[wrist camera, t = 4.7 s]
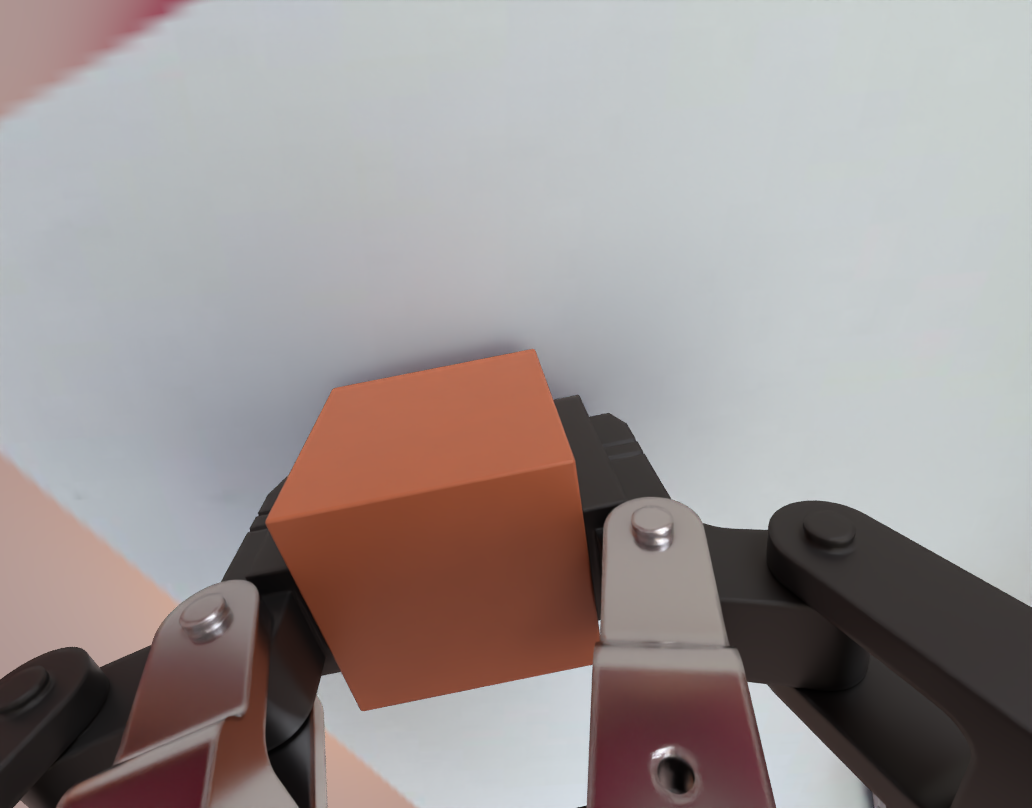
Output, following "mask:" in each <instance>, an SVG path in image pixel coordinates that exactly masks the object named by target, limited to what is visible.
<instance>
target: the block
mask: <svg viewBox="0 0 1032 808" xmlns="http://www.w3.org/2000/svg"><path fill="white" fill-rule="evenodd" d="M265 523H266V526H267V528H268V530H269V532H270V534H271V536H272V538H273V540H274V542H275V544H276V546H277V548H278V550H279V551H280V553H281V555H282V557H283V559H284V561H285V563H286V565H287V567H288V569H289V571H290V573H291V575H292V577H293V579H294V581H295V583H296V585H297V587H298V589H299V591H300V593H301V594H302V596H303V598H304V600H305V602H306V604H307V606H308V608H309V610H310V612H311V614H312V616H313V618H314V620H315V622H316V624H317V626H318V628H319V630H320V632H321V634H322V636H323V637H324V639H325V641H326V643H327V645H328V647H329V649H330V651H331V653H332V655H333V657H334V659H335V661H336V663H337V665H338V667H339V669H340V671H341V673H342V675H343V677H344V679H345V681H346V682H347V684H348V686H349V688H350V690H351V692H352V694H353V696H354V698H355V700H356V702H357V704H358V706H359V708H360V710H361V711H367V710H372V709H377V708H382V707H386V706H391V705H396V704H401V703H406V702H411V701H416V700H421V699H426V698H431V697H436V696H441V695H446V694H450V693H455V692H460V691H465V690H470V689H475V688H480V687H485V686H490V685H495V684H500V683H505V682H509V681H514V680H519V679H524V678H529V677H534V676H539V675H544V674H549V673H554V672H559V671H564V670H569V669H573V668H578V667H583V666H588V665H593V653H594V646H595V642H600V632H599V624H598V617H597V610H596V603H595V596H594V589H593V582H592V575H591V568H590V561H589V554H588V547H587V540H586V533H585V526H584V519H583V512H582V505H581V498H580V490H579V483H578V476H577V469H576V462H575V459H574V456H573V453H572V450H571V448H570V445H569V442H568V439H567V437H566V434H565V431H564V428H563V426H562V423H561V420H560V417H559V415H558V412H557V409H556V406H555V404H554V401H553V398H552V395H551V393H550V390H549V387H548V384H547V382H546V379H545V376H544V373H543V371H542V368H541V365H540V362H539V359H538V357H537V354H536V351H535V350H534V349H530V350H525V351H520V352H515V353H510V354H504V355H499V356H494V357H489V358H484V359H479V360H474V361H469V362H464V363H459V364H454V365H449V366H444V367H439V368H434V369H429V370H424V371H418V372H413V373H408V374H403V375H398V376H393V377H388V378H383V379H378V380H373V381H368V382H363V383H358V384H353V385H348V386H343V387H338V388H334V389H332V391H331V393H330V395H329V397H328V399H327V401H326V403H325V405H324V407H323V409H322V411H321V413H320V415H319V417H318V419H317V421H316V423H315V425H314V426H313V428H312V430H311V432H310V434H309V436H308V438H307V440H306V442H305V444H304V446H303V448H302V450H301V452H300V454H299V456H298V458H297V460H296V462H295V464H294V466H293V468H292V470H291V472H290V474H289V475H288V477H287V479H286V481H285V483H284V485H283V487H282V489H281V491H280V493H279V495H278V497H277V499H276V501H275V503H274V505H273V507H272V509H271V511H270V513H269V515H268V517H267V519H266V522H265Z"/></svg>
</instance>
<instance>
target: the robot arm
mask: <svg viewBox="0 0 1032 808" xmlns="http://www.w3.org/2000/svg"><path fill="white" fill-rule="evenodd" d="M553 401H554V404H555V406H556V409H557V412H558V415H559V417H560V420H561V423H562V426H563V428H564V431H565V434H566V437H567V439H568V442H569V445H570V448H571V450H572V453H573V456H574V459H575V462H576V469H577V476H578V483H579V490H580V498H581V505H582V512H583V519H584V526H585V533H586V540H587V547H588V554H589V561H590V568H591V575H592V582H593V589H594V596H595V603H596V610H597V617H598V620H601V626H600V642H595V646H594V653H593V669H592V693H591V717H590V741H589V766H588V790H587V806H583V807H578V808H776V805H775V801H774V796H773V792H772V788H771V783H770V779H769V775H768V770H767V766H766V762H765V757H764V753H763V749H762V744H761V740H760V736H759V731H758V727H757V723H756V718H755V714H754V710H753V705H752V701H751V697H750V692H749V688H748V684H747V682H754V683H762V684H767V685H768V686H769V687H770V688H771V690H772V691H773V692H774V693H775V694H776V695H777V696H778V697H779V698H780V699H781V700H782V701H783V702H784V703H785V704H786V705H787V706H788V707H789V708H790V709H791V710H792V711H793V712H794V713H795V714H796V715H797V716H798V717H799V718H800V719H801V720H802V721H803V722H804V723H805V724H806V725H807V726H808V727H809V729H810V730H811V731H812V732H813V733H814V734H815V735H816V736H817V737H818V738H819V739H820V740H821V741H822V742H823V743H824V744H825V745H826V746H827V747H828V748H829V749H830V750H831V751H832V752H833V753H834V754H835V755H836V756H837V757H838V758H839V759H840V760H841V761H842V762H843V763H844V764H845V765H846V766H847V767H848V768H849V769H850V770H851V771H852V772H853V773H854V774H855V775H856V776H857V777H858V778H859V779H860V780H861V781H862V782H863V783H864V784H865V785H866V786H867V787H868V788H869V789H870V790H871V791H872V792H873V793H874V794H875V795H876V796H877V797H878V798H879V799H880V800H881V801H882V802H883V803H884V804H885V806H886V807H887V808H1032V607H1030V606H1028V605H1026V604H1024V603H1023V602H1021V601H1019V600H1017V599H1016V598H1014V597H1012V596H1010V595H1008V594H1007V593H1005V592H1003V591H1001V590H999V589H998V588H996V587H994V586H992V585H991V584H989V583H987V582H985V581H983V580H982V579H980V578H978V577H976V576H975V575H973V574H971V573H969V572H967V571H966V570H964V569H962V568H960V567H958V566H957V565H955V564H953V563H951V562H950V561H948V560H946V559H944V558H942V557H941V556H939V555H937V554H935V553H934V552H932V551H930V550H928V549H926V548H925V547H923V546H921V545H919V544H917V543H916V542H914V541H912V540H910V539H909V538H907V537H905V536H903V535H901V534H900V533H898V532H896V531H894V530H893V529H891V528H889V527H887V526H885V525H884V524H882V523H880V522H878V521H876V520H875V519H873V518H871V517H869V516H868V515H866V514H864V513H862V512H860V511H858V510H855V509H853V508H850V507H848V506H844V505H841V504H837V503H832V502H826V501H801V502H796V503H792V504H789V505H786V506H784V507H782V508H780V509H779V510H777V511H776V512H775V513H774V514H773V515H772V517H771V519H770V521H769V526H768V530H752V529H730V528H721V527H715V526H711V525H707V524H704V523H702V521H701V519H700V518H699V516H698V515H697V514H696V513H695V512H694V511H693V510H692V509H690V508H689V507H688V506H686V505H684V504H682V503H680V502H677V501H675V500H671V498H670V496H669V494H668V493H667V491H666V489H665V488H664V486H663V484H662V483H661V481H660V479H659V478H658V476H657V474H656V472H655V471H654V469H653V467H652V466H651V464H650V462H649V461H648V459H647V457H646V456H645V454H643V450H642V449H641V447H640V445H639V444H638V442H637V441H636V440H635V437H634V435H633V434H632V432H631V430H630V428H629V427H628V425H627V423H625V422H623V421H621V420H620V419H618V418H616V417H615V416H613V415H611V414H610V413H607V414H601V415H596V416H591V417H589V415H588V413H587V411H586V409H585V407H584V405H583V403H582V400H581V398H580V396H579V395H575V396H570V397H565V398H560V399H555V400H553ZM286 479H287V477H286V478H285V479H284V480H283V481H282V482H281V483H280V484H279V485H278V486H277V487H275V488H274V489H273V490H272V491H271V492H270V493H269V494H268V496H267V497H266V499H265V501H264V503H263V505H262V507H261V509H260V510H259V512H258V514H259V516H257V517H256V518H255V520H254V521H253V523H252V525H251V527H250V532H248V533H247V534H246V536H245V538H244V540H243V542H242V544H241V546H240V547H239V549H238V551H237V553H236V555H235V557H234V559H233V560H232V562H231V564H230V566H229V568H228V570H227V572H226V573H225V575H224V577H223V579H222V581H221V582H220V583H217V584H214V585H211V586H209V587H207V588H205V589H203V590H201V591H199V592H197V593H195V594H194V595H192V596H191V597H189V598H188V599H186V600H185V601H184V602H182V603H181V604H180V605H178V606H177V607H176V608H175V609H174V610H173V611H172V612H171V613H170V614H169V615H168V616H167V617H166V618H165V620H164V621H163V622H162V624H161V625H160V626H159V628H158V630H157V632H156V634H155V636H154V639H153V642H152V645H150V646H148V647H146V648H143V649H141V650H139V651H136V652H134V653H132V654H130V655H127V656H125V657H123V658H120V659H118V660H116V661H114V662H111V663H109V664H106V665H104V666H102V667H100V668H99V666H98V665H97V664H96V663H95V662H94V660H93V659H92V658H91V657H90V656H89V655H88V653H87V652H86V651H85V650H83V649H81V648H78V647H66V648H61V649H57V650H53V651H50V652H48V653H45V654H43V655H40V656H38V657H36V658H34V659H32V660H30V661H28V662H26V663H25V664H23V665H21V666H20V667H18V668H16V669H15V670H13V671H12V672H10V673H9V674H7V675H6V676H4V677H3V678H2V679H0V808H13V807H14V806H15V805H16V804H17V803H18V802H19V801H20V800H21V801H22V802H23V803H24V804H26V805H27V806H28V807H29V808H327V785H326V784H327V782H326V758H325V732H324V712H323V706H322V704H321V701H320V700H319V698H318V696H317V690H318V686H319V682H320V678H321V676H322V675H327V674H332V673H337V672H341V671H340V669H339V667H338V665H337V663H336V661H335V659H334V657H333V655H332V653H331V651H330V649H329V647H328V645H327V643H326V641H325V639H324V637H323V636H322V634H321V632H320V630H319V628H318V626H317V624H316V622H315V620H314V618H313V616H312V614H311V612H310V610H309V608H308V606H307V604H306V602H305V600H304V598H303V596H302V594H301V593H300V591H299V589H298V587H297V585H296V583H295V581H294V579H293V577H292V575H291V573H290V571H289V569H288V567H287V565H286V563H285V561H284V559H283V557H282V555H281V553H280V551H279V550H278V548H277V546H276V544H275V542H274V540H273V538H272V536H271V534H270V532H269V530H268V528H267V526H266V523H265V522H266V519H267V517H268V515H269V513H270V511H271V509H272V507H273V505H274V503H275V501H276V499H277V497H278V495H279V493H280V491H281V489H282V487H283V485H284V483H285V481H286Z"/></svg>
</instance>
